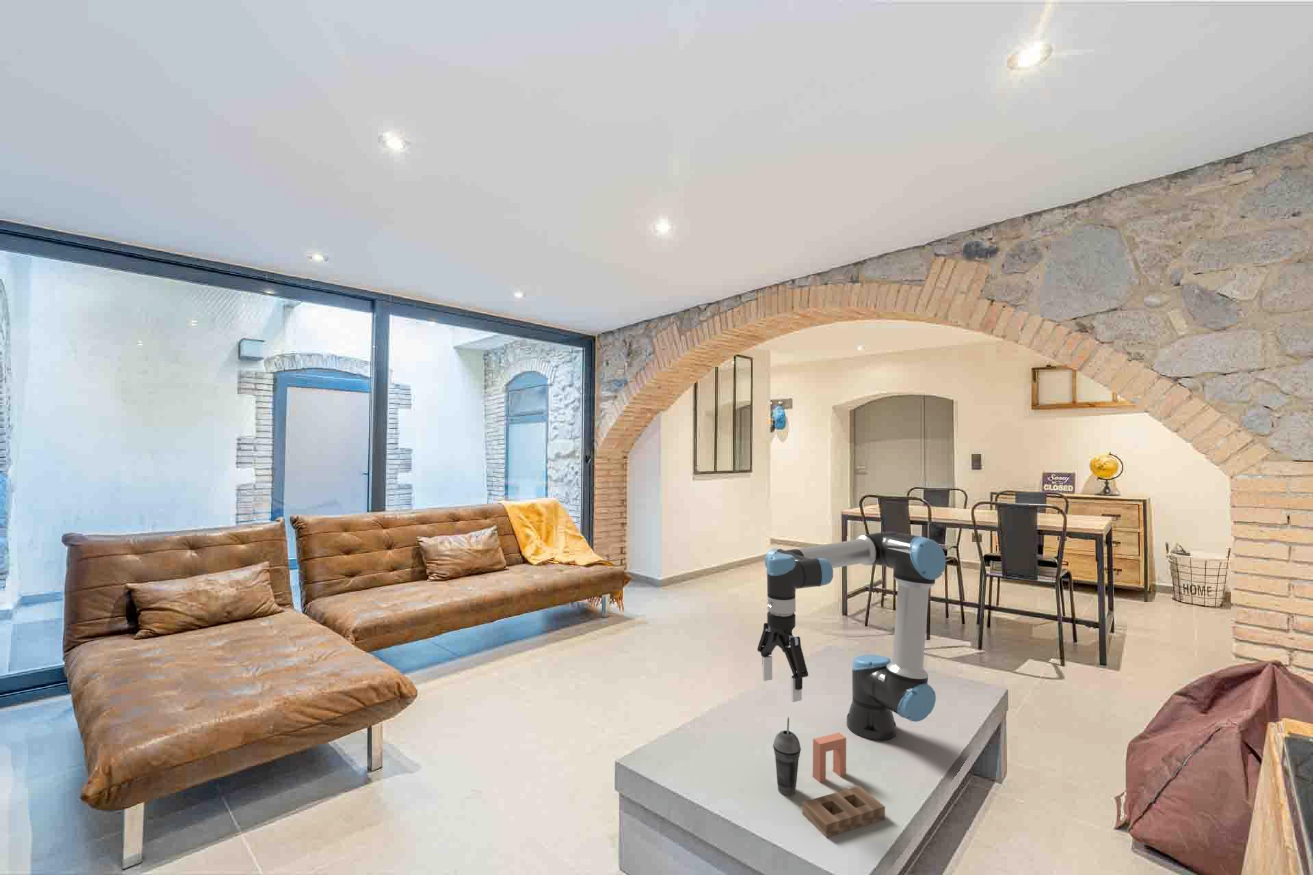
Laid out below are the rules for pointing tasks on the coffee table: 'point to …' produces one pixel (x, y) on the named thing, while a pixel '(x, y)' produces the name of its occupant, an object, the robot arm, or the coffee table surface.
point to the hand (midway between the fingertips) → (781, 689)
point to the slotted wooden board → (843, 811)
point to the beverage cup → (786, 760)
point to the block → (819, 755)
